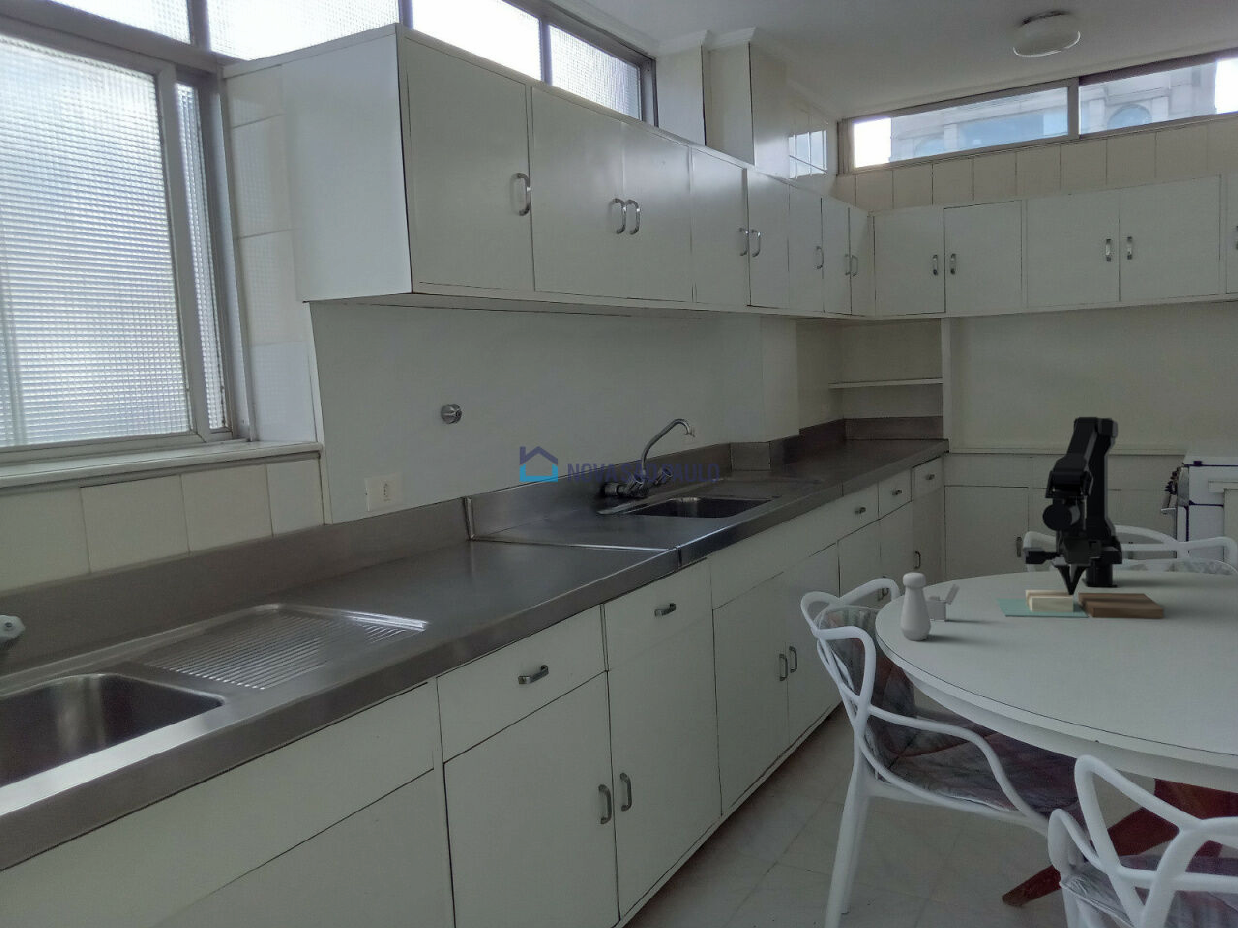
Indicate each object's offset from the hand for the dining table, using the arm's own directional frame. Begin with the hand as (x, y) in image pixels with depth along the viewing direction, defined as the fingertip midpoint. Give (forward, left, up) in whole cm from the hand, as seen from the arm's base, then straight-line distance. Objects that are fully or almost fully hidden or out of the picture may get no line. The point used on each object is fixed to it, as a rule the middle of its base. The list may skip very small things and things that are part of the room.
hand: (1070, 594), depth 193 cm
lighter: (+11, -27, -3) cm, 30 cm away
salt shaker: (+24, -33, -3) cm, 41 cm away
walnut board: (0, +9, -3) cm, 10 cm away
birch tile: (0, -4, -3) cm, 5 cm away
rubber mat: (0, -6, -3) cm, 7 cm away
